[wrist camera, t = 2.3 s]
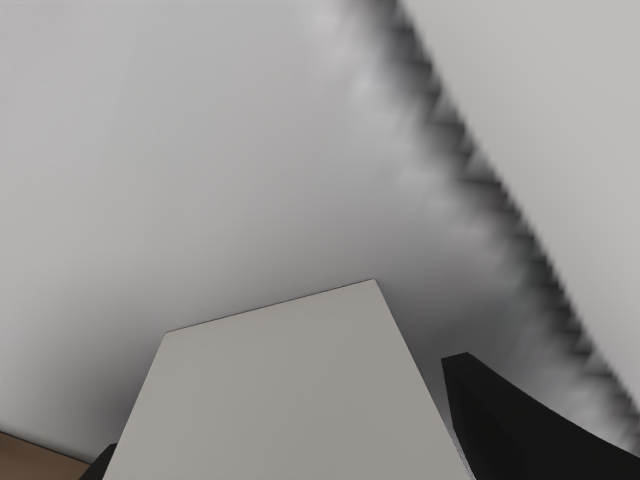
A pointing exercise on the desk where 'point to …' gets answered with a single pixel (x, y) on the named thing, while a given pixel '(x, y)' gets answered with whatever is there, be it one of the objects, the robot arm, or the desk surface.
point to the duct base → (35, 462)
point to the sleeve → (288, 399)
